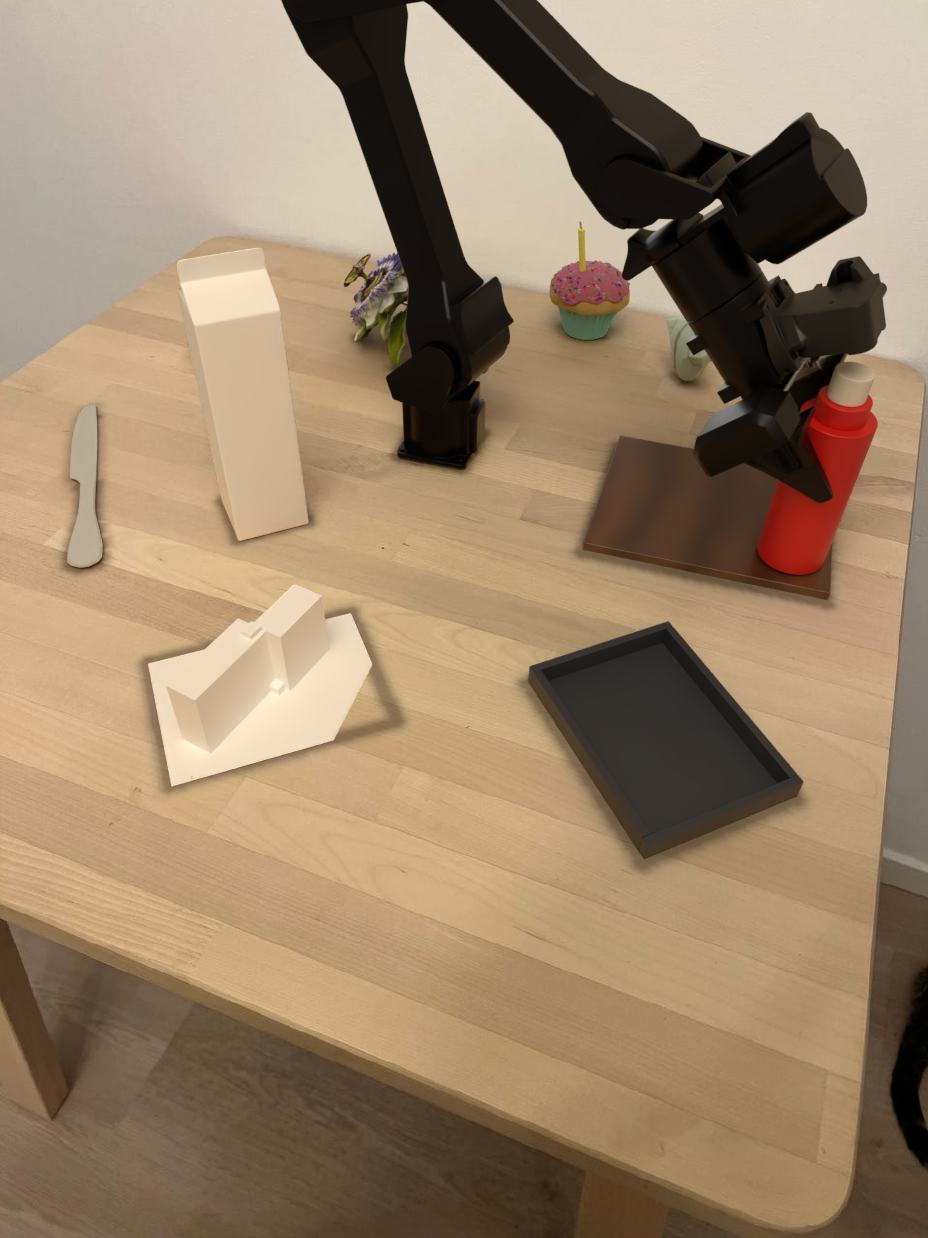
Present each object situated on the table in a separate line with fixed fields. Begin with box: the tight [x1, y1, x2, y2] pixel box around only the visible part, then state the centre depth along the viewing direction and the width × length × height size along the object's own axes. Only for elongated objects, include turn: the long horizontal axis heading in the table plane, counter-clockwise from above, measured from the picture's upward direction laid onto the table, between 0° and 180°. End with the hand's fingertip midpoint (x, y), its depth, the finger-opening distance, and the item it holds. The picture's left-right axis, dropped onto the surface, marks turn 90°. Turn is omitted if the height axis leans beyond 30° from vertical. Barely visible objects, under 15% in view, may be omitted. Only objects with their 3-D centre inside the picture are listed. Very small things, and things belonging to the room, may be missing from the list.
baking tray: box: [527, 620, 804, 860], centre depth 61 cm, size 15×11×2 cm
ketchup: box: [757, 361, 879, 575], centre depth 68 cm, size 5×5×16 cm
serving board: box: [582, 435, 833, 601], centre depth 78 cm, size 19×16×1 cm
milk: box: [176, 247, 310, 542], centre depth 70 cm, size 6×6×22 cm
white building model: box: [147, 583, 374, 787], centre depth 62 cm, size 15×11×6 cm
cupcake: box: [548, 220, 631, 341], centre depth 98 cm, size 9×8×12 cm
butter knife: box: [66, 403, 104, 569], centre depth 81 cm, size 1×24×3 cm
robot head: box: [665, 315, 712, 382], centre depth 92 cm, size 8×4×7 cm, turn 16°
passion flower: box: [343, 252, 408, 368], centre depth 97 cm, size 11×11×12 cm
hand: (836, 480), depth 67 cm, fingers closed on ketchup, 5 cm apart
